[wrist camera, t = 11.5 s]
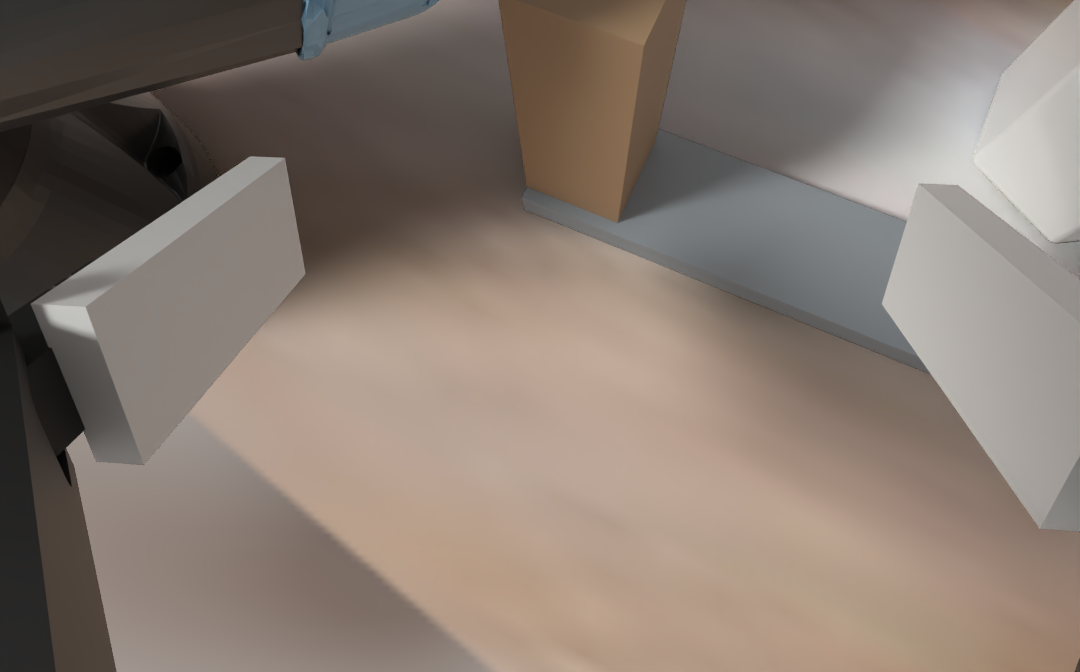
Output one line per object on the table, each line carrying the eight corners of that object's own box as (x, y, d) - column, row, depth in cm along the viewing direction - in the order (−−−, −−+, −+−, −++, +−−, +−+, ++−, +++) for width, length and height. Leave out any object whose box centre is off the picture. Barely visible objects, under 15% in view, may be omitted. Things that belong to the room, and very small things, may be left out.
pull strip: (523, 209, 29) (488, 9, 18) (679, -107, 33) (737, -452, 21) (1160, 467, 26) (1661, 433, 14) (1260, 80, 29) (1729, -211, 17)
